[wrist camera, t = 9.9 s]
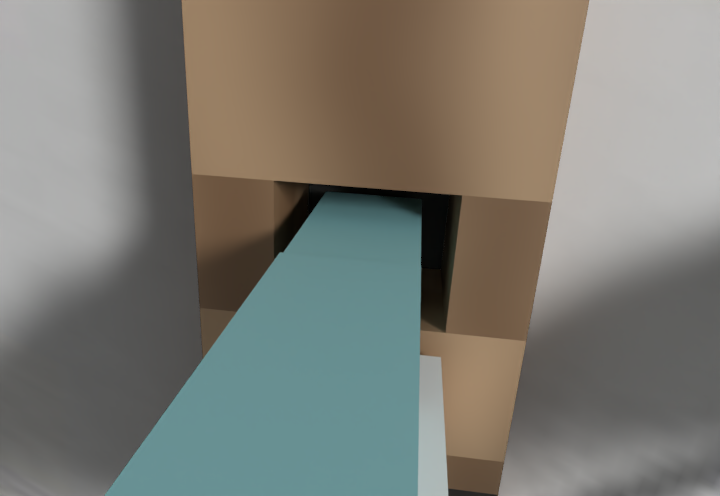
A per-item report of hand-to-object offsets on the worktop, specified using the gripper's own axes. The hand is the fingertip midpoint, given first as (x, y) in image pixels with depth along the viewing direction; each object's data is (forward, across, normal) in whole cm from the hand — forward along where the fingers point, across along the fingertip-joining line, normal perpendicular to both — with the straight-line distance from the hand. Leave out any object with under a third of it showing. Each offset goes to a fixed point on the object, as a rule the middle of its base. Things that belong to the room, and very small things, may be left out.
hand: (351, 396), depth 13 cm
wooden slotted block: (+5, 0, 0) cm, 5 cm away
